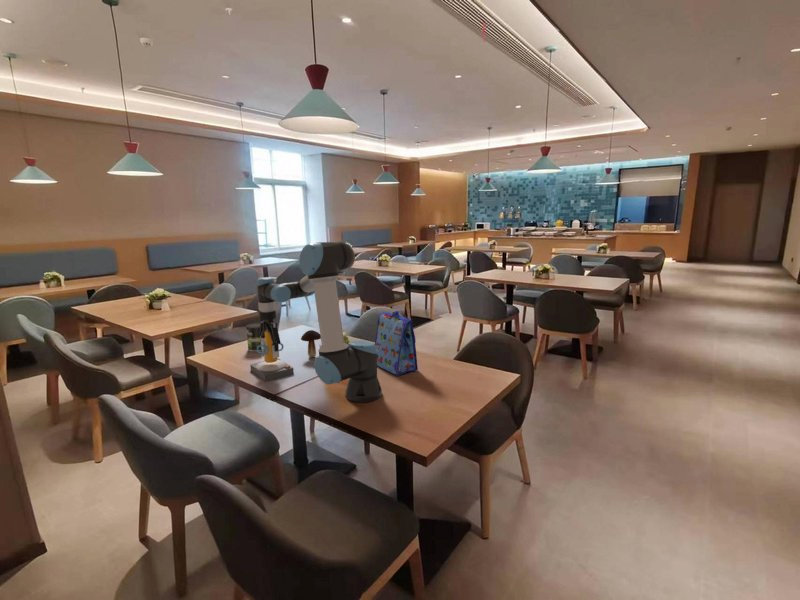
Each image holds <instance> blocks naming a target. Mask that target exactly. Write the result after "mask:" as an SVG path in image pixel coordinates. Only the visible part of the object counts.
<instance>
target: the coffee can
mask: <svg viewBox="0 0 800 600" xmlns="http://www.w3.org/2000/svg"><path fill="white" fill-rule="evenodd" d="M245 327H246V328H245V329H246V337H247V338H246V339H247V351H249V352H254V353H259V352H258V351H257V347H258V346H259V345H262V338H261V336H260V335H259V332H260V322H253V323H249V324H246V326H245ZM259 351H260V352H262V346H260V347H259Z"/></svg>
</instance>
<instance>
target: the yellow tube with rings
mask: <svg viewBox="0 0 800 600" xmlns="http://www.w3.org/2000/svg"><path fill="white" fill-rule="evenodd" d="M272 344H273V342H272V339H271V336H270V333H269V332H268V331H267V330H266V331H265V342H264V345H259V346H258V347H257V351H258V352H257V353H259V354H263V356H264V361H265V362H267V363H272V362H276V361H277V360H278V358H279V357H277V358H273V349H272ZM260 346H263V347H264V349H263V351H259V347H260ZM279 346H281V348H279V352H281V351H283V350H284V344H283V343H282V342H281V343H280V344H279Z"/></svg>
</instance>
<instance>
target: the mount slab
mask: <svg viewBox="0 0 800 600" xmlns="http://www.w3.org/2000/svg"><path fill="white" fill-rule="evenodd" d="M277 358H278V360H277V361H276V362H272V363H267V362H265V360H264V361H259V362H254V363H250V364H249V365H250V371H251V372H252V373H254V374H255V375H256V376H258V377H259V378H260V379H261V380H263V381H264V382H267V381H271V380H276V379H278V378H282V377H286V376H291V375H294V374H295V372H294V367H293V366H291V365H290V364H288V363H287V362H286V361H285V360H282V359H280V357H277Z"/></svg>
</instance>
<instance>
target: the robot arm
mask: <svg viewBox="0 0 800 600" xmlns="http://www.w3.org/2000/svg"><path fill="white" fill-rule="evenodd" d="M355 260H356V254H355V251H354V248H353V247H351V245H350V244H349V243H346V242H343V241H324V242H323V241H322V242H320V241H319V242H313V243H311V242H310V243H308V244H306V245H304V247H303V248H302V249H301V251H300V254H299V258H298V265H299V269H300V270H301V272H302V274H304V275H305V276H303V277H302V278H300V280H298V281H291V282H284V283H275V279H274V278H273V277H269V276H268V277H267V276H266V277H259V278H257V280H256V288H257V291H256V292H257V300H258V302H257V303H258V310H259V312H258V313H259V314H258V315H259V320H260V321H259V323H260V332H259V335H260V336H261V338H262V345H264V342H265V331H266V330H267V331H268V332H269V333H270V336H271V339H272V342H273V344H272V349H273V358H280V351H279V350H280V348H279V347H280V343H282V342H281V338H280V333H279V329H278V323H277V322H274V320H275V319H277V311H276V309H277V307H276V305H277V302H278V303H286V302H287V301H288V300H293V299H299V298H306V297H309V296H313V295H314V299H315V306H316V313H317V322H318V327H319V334H320V336H321V339H320V343H321V345H320V347H319V349H318V356H317V357H315V359H314V363H313V365H314V371H315V373H316V375H317V377H318V378H319V379H320V381H321V382H323V383H324V384H326V385H334V384H339V383H340V382H342V381H345V380H348V381H347V385H346V388H345V398H346V399H347V400H349V401H351V402H355V403H369V402H373V401H376V400H378V399H379V398H381V396H382V386H381V384H380V380H379V379H378V366H377V349H376V345H375V342H372V341H368V340H361V339H359V340H358V339H356V340H350V341H349V342H348V343H346V342H345V339H344V338H345V337H344V331H343V325H342V324H343V323H342V317H341V311H340V304H339V297H338V289H337V288H338V287H337V283H336V282H337V279H338V278H339V277H340V275H341V274H345V272H347V271H348V270H350V269H352V267H353V265H354V264H355ZM263 349H264V347H263V346H262V351H263ZM262 351H261V352H262Z"/></svg>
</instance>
